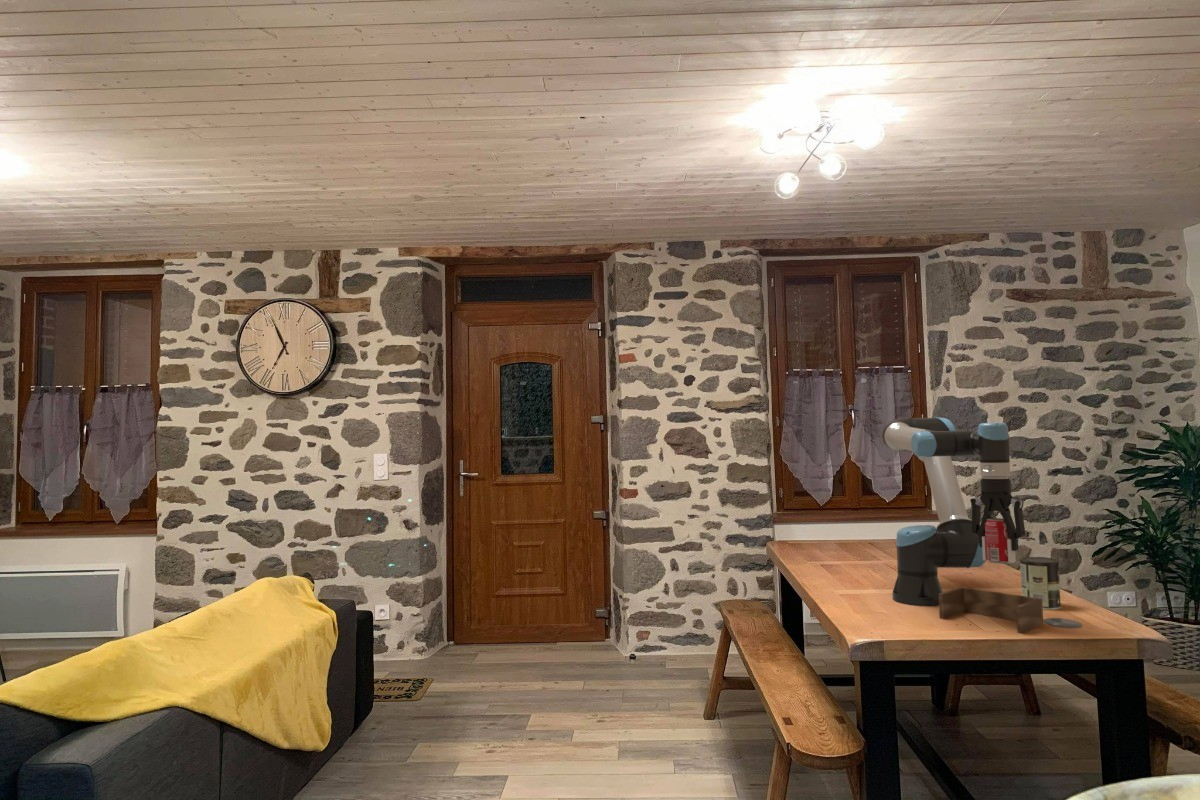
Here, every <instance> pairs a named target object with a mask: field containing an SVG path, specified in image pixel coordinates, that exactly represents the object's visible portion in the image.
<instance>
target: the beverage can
mask: <svg viewBox="0 0 1200 800" xmlns="http://www.w3.org/2000/svg"><path fill="white" fill-rule="evenodd" d="M1009 538H1010V536H1009V533H1008V530H1007V528H1006V525H1005V522H1004V520H1003V518H1000V517H996V518H995V517H994V518H993V517H991V518H990V519H987V521H986V523H985V540H986V559H987V560H986V561H989V563H992V564H999V565H1003V564H1004V565H1005V564H1009V563H1008V546H1007V539H1009Z"/></svg>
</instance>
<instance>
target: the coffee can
mask: <svg viewBox="0 0 1200 800" xmlns="http://www.w3.org/2000/svg"><path fill="white" fill-rule="evenodd" d="M1019 562H1020V566H1019V567H1020V582H1021V583H1020V584H1021V585H1020V586H1021V587H1020V588H1021V596H1026V597H1033V598H1040V599H1042V603H1043V611H1044V610H1045V611H1046V610H1047V611H1053V610H1054V611H1056V610H1061V609H1062V606H1061V603H1062V602H1061V589H1060V569H1059V568H1060V566H1059V565H1060V561H1059V560H1058V559H1056V558H1055V559H1054V558H1050V557H1042V556H1041V557H1040V556H1036V557H1035V556H1025V557H1020V558H1019Z"/></svg>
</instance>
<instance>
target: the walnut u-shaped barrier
mask: <svg viewBox="0 0 1200 800" xmlns="http://www.w3.org/2000/svg"><path fill="white" fill-rule="evenodd" d="M938 613H939V619H940V620H945V619H948V618H951V617H954V616H957V615H959V614H963V613H970V614H975V615H980V616H985V617H986V616H987V617H990V618H991V617H992V618H998V619H1003V620H1009V621H1014V622H1016V629H1017V634H1022V635H1024V634H1025V633H1027V632H1029V631H1032V630H1034V629H1038V628H1040V627H1041V625H1042V626H1043V625H1044V622H1043V620H1044V610H1043V603H1042V599H1040V598H1033V597H1026V596H1022V595H1018V594H1011V593H1006V592H999V591H993V590H992V591H991V590H986V589H978V588H972V587H966V586H959V587H956V588H952V589H949V590H946V591H943V593H939V606H938Z"/></svg>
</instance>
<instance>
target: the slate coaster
mask: <svg viewBox="0 0 1200 800" xmlns="http://www.w3.org/2000/svg"><path fill="white" fill-rule="evenodd" d="M1045 623H1046V624H1045ZM1043 624H1045V625H1047V624H1049V625H1048V626H1051V625H1052V626H1051V627H1055V626H1057V627H1056V628H1062V627H1063V628H1065V629H1079V628H1082V627H1083V624H1082V622H1080V621H1077V620H1074V619H1073V620H1072V619H1069V618H1068V619H1067V618H1060V617H1050V618H1048V617H1047V618H1043ZM1081 626H1082V627H1081Z"/></svg>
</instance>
